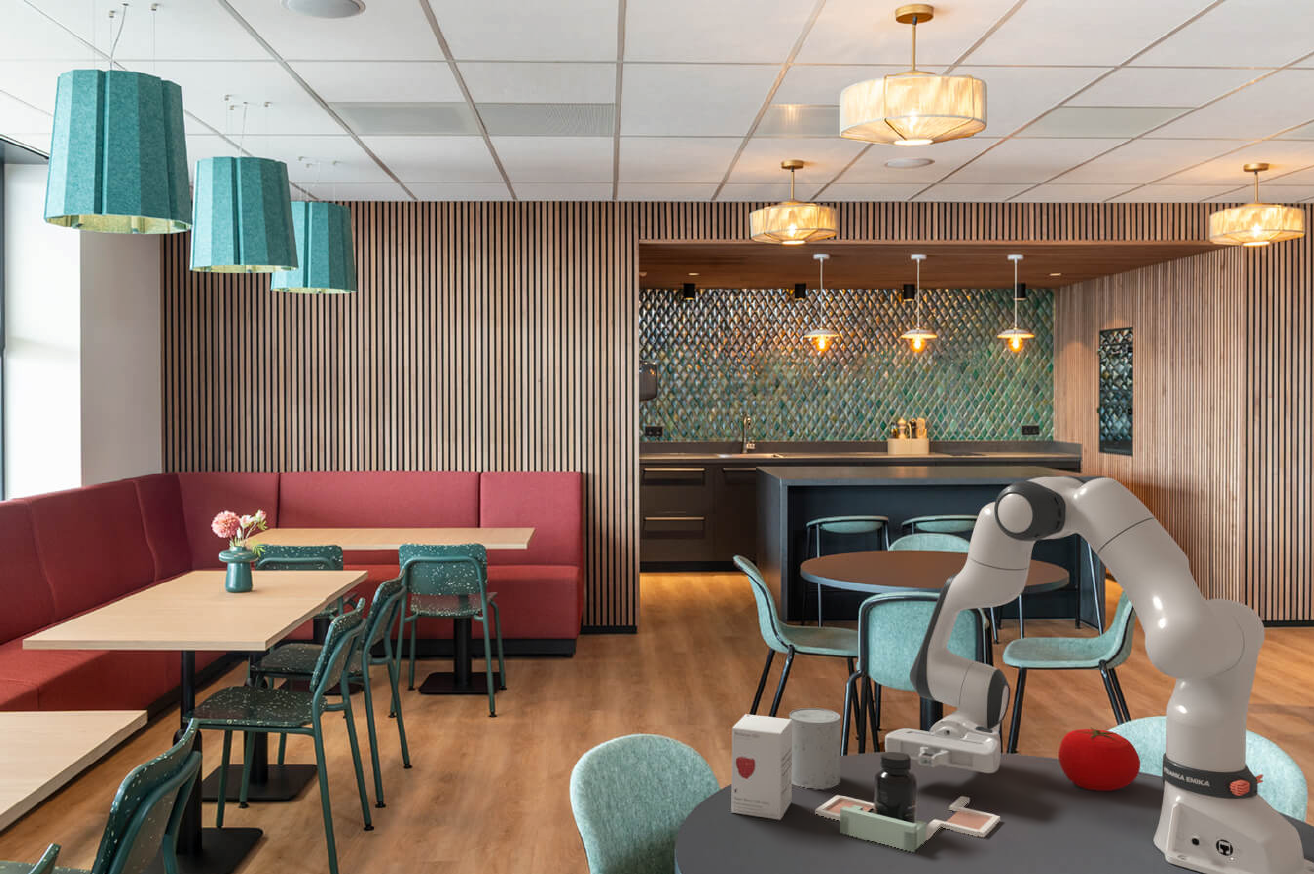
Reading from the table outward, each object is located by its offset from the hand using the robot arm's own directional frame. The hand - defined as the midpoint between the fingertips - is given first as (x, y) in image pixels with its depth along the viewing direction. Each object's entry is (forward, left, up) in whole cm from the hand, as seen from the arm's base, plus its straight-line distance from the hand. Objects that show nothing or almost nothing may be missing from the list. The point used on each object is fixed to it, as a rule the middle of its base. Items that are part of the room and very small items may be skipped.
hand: (925, 761), depth 176 cm
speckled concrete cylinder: (+20, +8, -8) cm, 23 cm away
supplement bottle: (-4, +12, -8) cm, 15 cm away
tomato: (-11, -34, -8) cm, 37 cm away
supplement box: (+15, +25, -8) cm, 30 cm away
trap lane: (-2, +7, -8) cm, 10 cm away
